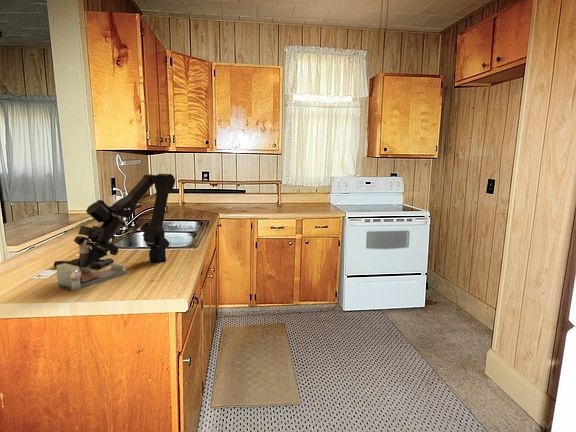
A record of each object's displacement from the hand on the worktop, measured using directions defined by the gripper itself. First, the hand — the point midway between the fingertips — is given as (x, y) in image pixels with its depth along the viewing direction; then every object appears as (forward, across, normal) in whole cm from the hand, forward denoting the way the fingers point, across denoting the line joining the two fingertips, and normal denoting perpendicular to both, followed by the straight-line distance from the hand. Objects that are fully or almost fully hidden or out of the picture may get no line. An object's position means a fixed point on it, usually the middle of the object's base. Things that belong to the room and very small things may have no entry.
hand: (81, 264), depth 127 cm
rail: (+1, 0, +9) cm, 9 cm away
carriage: (+3, 0, +5) cm, 5 cm away
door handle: (-6, -21, +16) cm, 28 cm away
